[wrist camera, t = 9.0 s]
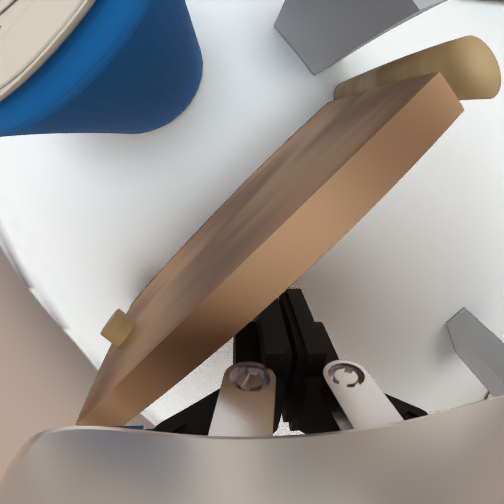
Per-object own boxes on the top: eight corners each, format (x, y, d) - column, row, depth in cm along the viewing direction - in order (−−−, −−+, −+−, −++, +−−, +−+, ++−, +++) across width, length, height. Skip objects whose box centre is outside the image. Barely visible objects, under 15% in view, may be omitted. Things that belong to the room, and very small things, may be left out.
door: (342, 67, 14) (462, 8, 5) (377, 108, 15) (516, 97, 5) (121, 291, 17) (52, 416, 8) (159, 322, 18) (120, 458, 9)
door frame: (472, 338, 22) (536, 408, 12) (455, 353, 22) (517, 427, 12) (303, 10, 13) (378, -95, 3) (273, 26, 13) (328, -87, 4)
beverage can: (72, 62, 13) (-90, 11, 1) (175, 3, 12) (110, -150, 1) (114, 156, 15) (-65, 206, 4) (224, 97, 14) (215, -13, 3)
